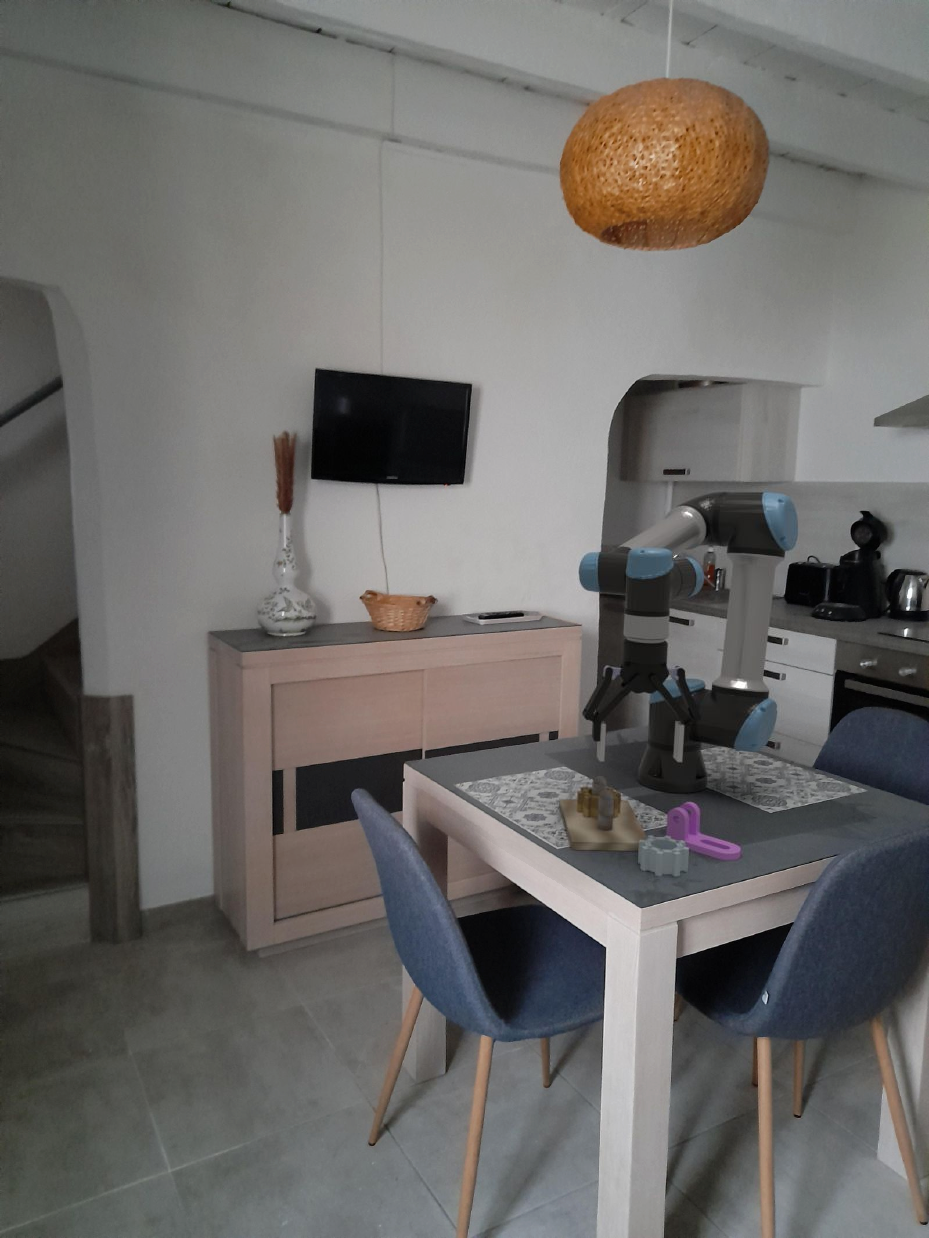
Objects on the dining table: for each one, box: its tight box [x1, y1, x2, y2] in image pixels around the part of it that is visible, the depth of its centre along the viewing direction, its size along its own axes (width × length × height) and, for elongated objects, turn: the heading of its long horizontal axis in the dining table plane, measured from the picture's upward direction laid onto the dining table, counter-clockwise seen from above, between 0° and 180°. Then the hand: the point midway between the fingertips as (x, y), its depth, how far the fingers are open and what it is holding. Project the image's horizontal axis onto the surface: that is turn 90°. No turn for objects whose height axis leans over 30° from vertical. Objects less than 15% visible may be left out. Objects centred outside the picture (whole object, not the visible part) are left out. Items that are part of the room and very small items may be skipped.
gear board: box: [558, 775, 647, 852], centre depth 170 cm, size 14×22×9 cm, turn 0°
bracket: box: [665, 801, 742, 861], centre depth 161 cm, size 13×6×7 cm, turn 47°
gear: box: [637, 834, 690, 878], centre depth 153 cm, size 8×8×4 cm
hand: (639, 759), depth 154 cm, fingers open, 13 cm apart
